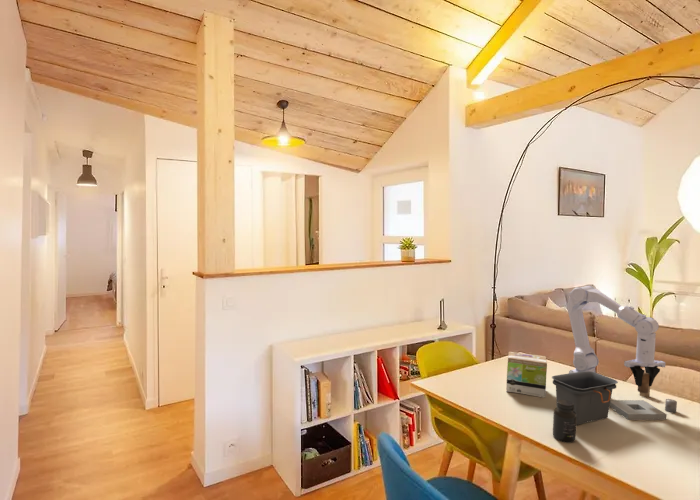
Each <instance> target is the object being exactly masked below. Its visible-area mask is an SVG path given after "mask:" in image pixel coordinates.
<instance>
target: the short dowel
mask: <svg viewBox="0 0 700 500" xmlns="http://www.w3.org/2000/svg"><path fill="white" fill-rule="evenodd" d="M664 406H665V407H664V411H665V412H667V413H670V414H677V407H678V401H676V400H675V399H672V398H666V399H665V404H664Z"/></svg>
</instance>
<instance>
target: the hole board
mask: <svg viewBox="0 0 700 500" xmlns="http://www.w3.org/2000/svg"><path fill="white" fill-rule="evenodd" d="M609 408H611V409H612V410H614V411H615V412H617V414H619V415H621V416H622V417H624V418H625V419H626V420H627V421H628V420H638V421H639V420H646V421H647V420H648V421H649V420H652V421H653V420H654V421H655V420H665V421H666V420H667V415H668V414H667V413H665V412H664V411H662V410H660V409H659V408H657V407H656V406H654V405H652V404H650V403H649V402H647V401H645V400H644V399H639V400H638V399H637V400H636V399H635V400H634V399H632V400H631V399H630V400H629V399H628V400H627V399H618V400H616V399H611V401H610V407H609Z"/></svg>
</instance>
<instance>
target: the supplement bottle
mask: <svg viewBox="0 0 700 500" xmlns="http://www.w3.org/2000/svg"><path fill="white" fill-rule="evenodd" d="M557 407H558V408H557ZM573 410H574V404H573V403H572V402H570V401H568V400H558V402H557V401H556V407H555V409H553V417H552V418H553V420H552V436H553V437H554V439H556V440H558V441H560V442H561V443H562V442H563V443H573V442H575V441H576V439H577V437H576V436H577V425H576V422H577V415H576V413H575V412H574V411H573Z"/></svg>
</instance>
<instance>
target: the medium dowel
mask: <svg viewBox="0 0 700 500" xmlns="http://www.w3.org/2000/svg"><path fill="white" fill-rule="evenodd" d="M650 395H651V386H649V393H641V392H639V396H640V397H642V398H650Z"/></svg>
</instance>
